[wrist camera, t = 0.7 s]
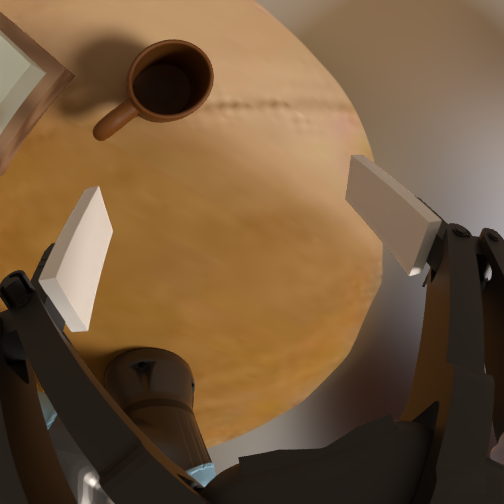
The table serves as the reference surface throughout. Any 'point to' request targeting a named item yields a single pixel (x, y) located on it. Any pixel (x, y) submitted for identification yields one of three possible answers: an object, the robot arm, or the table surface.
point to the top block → (15, 78)
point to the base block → (40, 97)
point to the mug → (162, 86)
